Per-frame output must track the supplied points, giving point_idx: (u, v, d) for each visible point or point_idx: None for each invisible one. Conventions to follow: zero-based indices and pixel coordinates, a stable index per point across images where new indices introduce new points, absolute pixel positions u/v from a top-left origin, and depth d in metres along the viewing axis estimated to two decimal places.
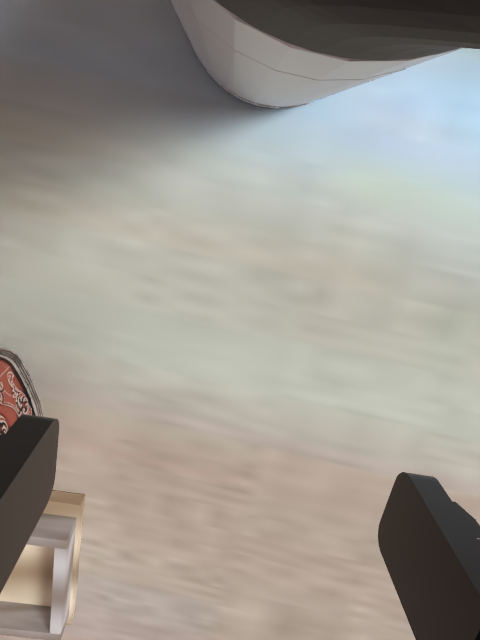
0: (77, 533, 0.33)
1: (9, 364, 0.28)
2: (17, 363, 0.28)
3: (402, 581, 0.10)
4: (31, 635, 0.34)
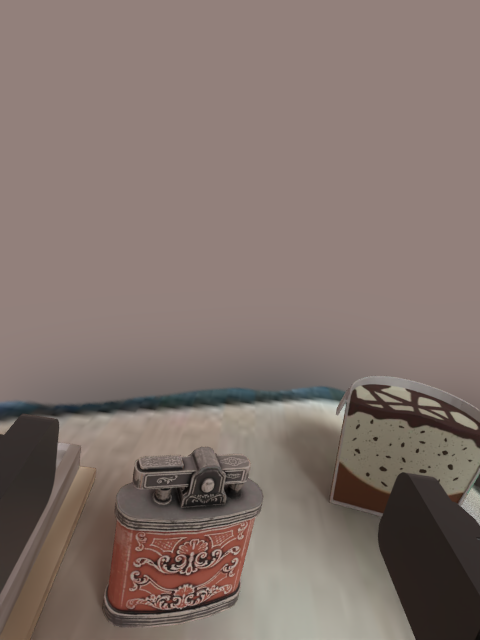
0: None
1: (234, 592, 0.27)
2: (230, 601, 0.27)
3: (402, 581, 0.10)
4: None
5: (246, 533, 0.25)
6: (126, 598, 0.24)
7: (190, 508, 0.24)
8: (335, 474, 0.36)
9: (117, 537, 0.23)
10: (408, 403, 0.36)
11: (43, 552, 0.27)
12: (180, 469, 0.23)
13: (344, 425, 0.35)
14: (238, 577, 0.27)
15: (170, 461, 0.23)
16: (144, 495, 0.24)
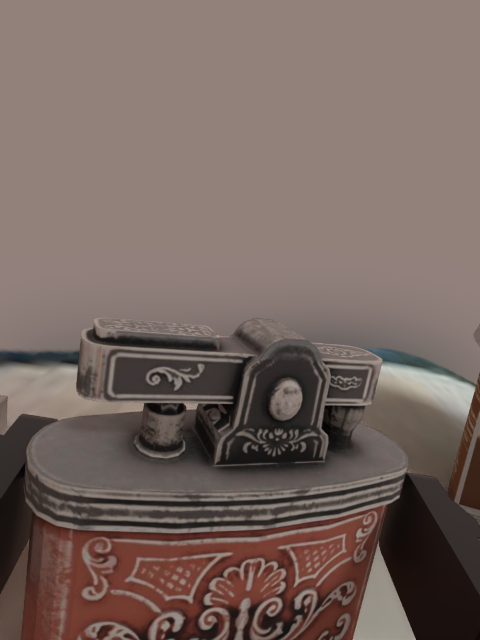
0: None
1: None
2: None
3: (402, 581, 0.10)
4: None
5: (371, 546, 0.10)
6: None
7: (237, 470, 0.09)
8: (468, 458, 0.20)
9: (31, 562, 0.08)
10: None
11: None
12: (212, 348, 0.08)
13: None
14: None
15: (183, 330, 0.08)
16: (111, 440, 0.09)
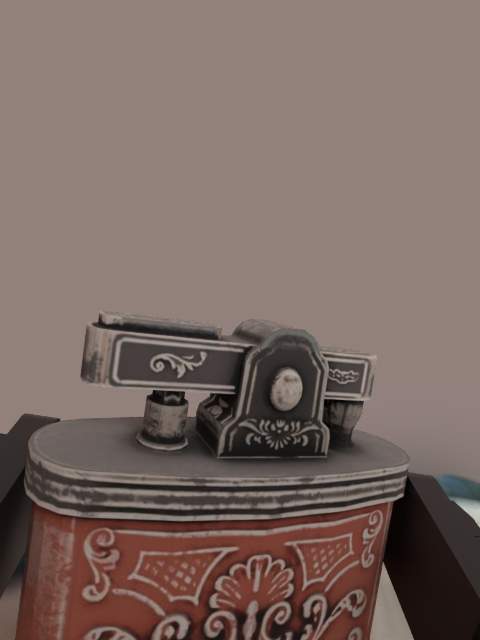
0: None
1: None
2: None
3: (400, 580, 0.10)
4: None
5: (379, 550, 0.10)
6: None
7: (241, 463, 0.09)
8: None
9: (29, 564, 0.08)
10: None
11: None
12: (213, 338, 0.08)
13: None
14: None
15: (185, 322, 0.09)
16: (113, 436, 0.09)
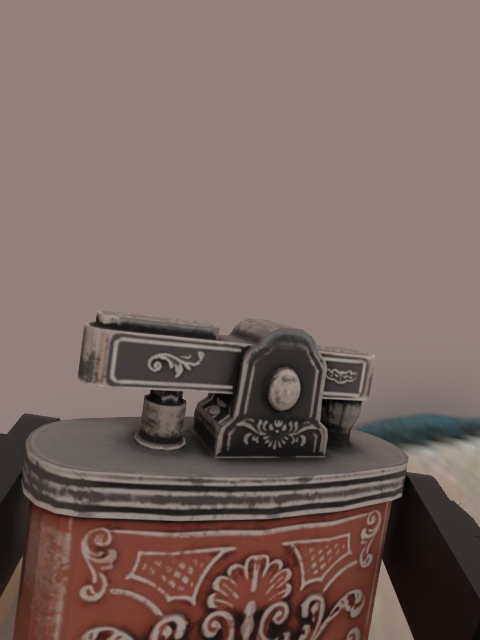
0: None
1: None
2: None
3: (400, 579, 0.10)
4: None
5: (377, 550, 0.10)
6: None
7: (238, 463, 0.09)
8: None
9: (26, 564, 0.08)
10: None
11: None
12: (211, 337, 0.08)
13: None
14: None
15: (182, 322, 0.09)
16: (111, 436, 0.09)
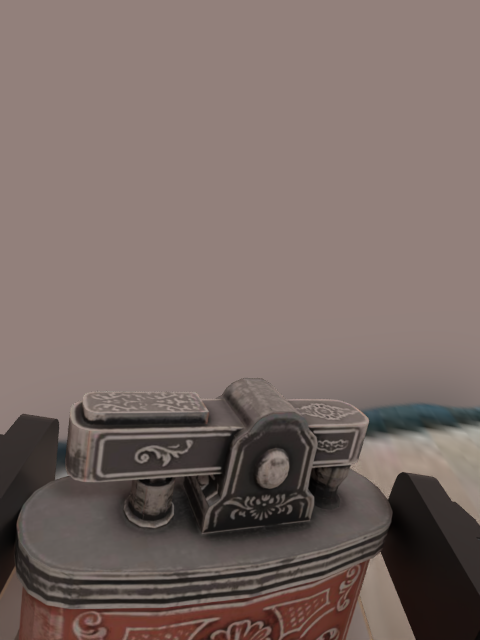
0: None
1: None
2: None
3: (402, 581, 0.10)
4: None
5: (354, 594, 0.10)
6: None
7: (225, 535, 0.09)
8: None
9: (23, 628, 0.08)
10: None
11: None
12: (200, 423, 0.08)
13: None
14: None
15: (171, 403, 0.08)
16: (101, 505, 0.09)
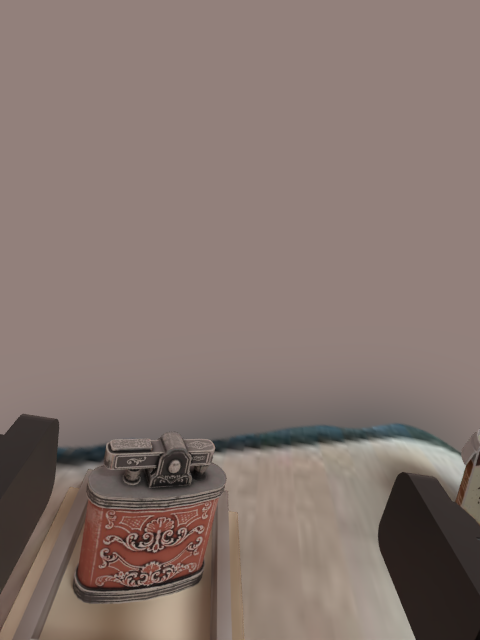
0: None
1: (198, 570, 0.28)
2: (195, 579, 0.28)
3: (402, 581, 0.10)
4: (31, 611, 0.23)
5: (210, 513, 0.27)
6: (95, 575, 0.26)
7: (157, 488, 0.25)
8: None
9: (88, 516, 0.25)
10: None
11: None
12: (149, 451, 0.25)
13: (471, 474, 0.37)
14: (203, 556, 0.28)
15: (139, 444, 0.25)
16: (114, 476, 0.25)
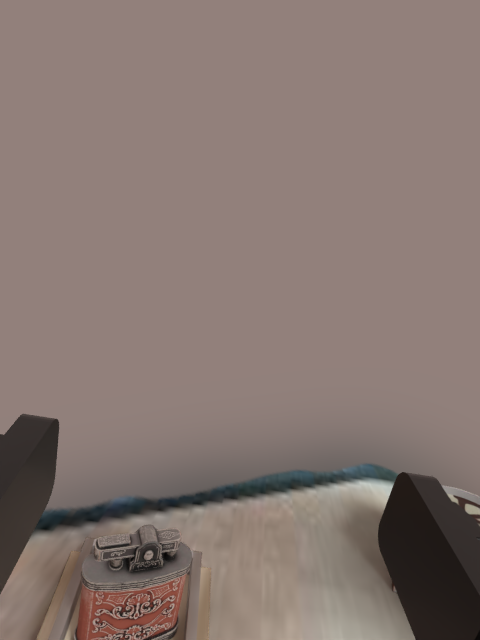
0: None
1: (172, 627, 0.36)
2: (170, 635, 0.36)
3: (402, 581, 0.10)
4: None
5: (179, 585, 0.34)
6: (90, 638, 0.33)
7: (136, 571, 0.33)
8: None
9: (82, 594, 0.32)
10: None
11: None
12: (128, 545, 0.32)
13: None
14: (176, 616, 0.36)
15: (120, 539, 0.32)
16: (102, 563, 0.32)
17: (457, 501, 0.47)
